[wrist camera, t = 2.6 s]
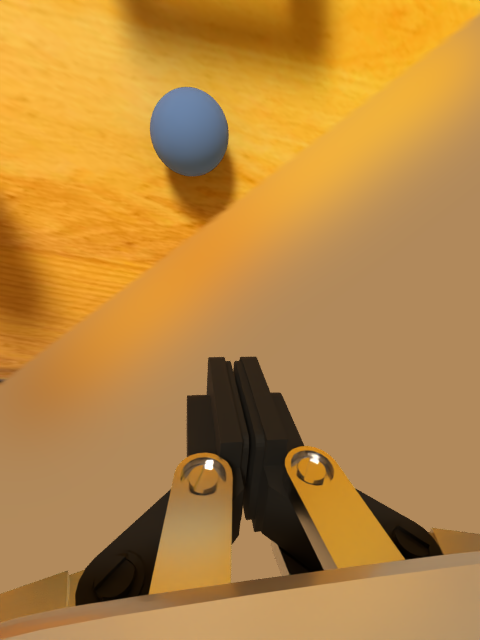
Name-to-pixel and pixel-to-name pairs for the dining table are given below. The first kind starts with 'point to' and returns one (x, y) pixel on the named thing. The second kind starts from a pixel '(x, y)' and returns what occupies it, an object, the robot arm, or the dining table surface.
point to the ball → (189, 131)
